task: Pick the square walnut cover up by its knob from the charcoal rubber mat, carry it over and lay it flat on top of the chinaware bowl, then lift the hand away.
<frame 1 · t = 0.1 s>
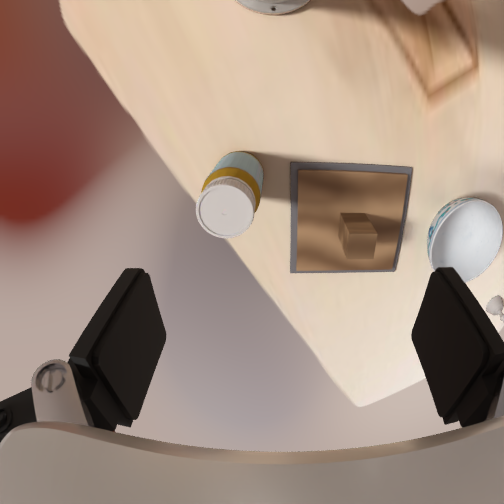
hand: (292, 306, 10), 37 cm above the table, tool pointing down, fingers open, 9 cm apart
bottle: (240, 172, 45), on the table
cover: (350, 222, 47), resting on mat
mat: (349, 221, 47), on the table
chinaware: (448, 223, 46), on the table
chalice: (493, 303, 54), on the table
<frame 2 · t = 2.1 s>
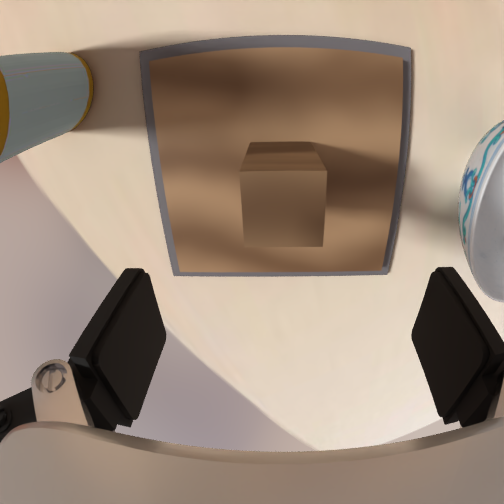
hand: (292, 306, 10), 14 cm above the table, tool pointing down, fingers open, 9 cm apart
bottle: (65, 92, 19), on the table
cover: (280, 166, 21), resting on mat
mat: (280, 165, 22), on the table
chinaware: (490, 178, 20), on the table
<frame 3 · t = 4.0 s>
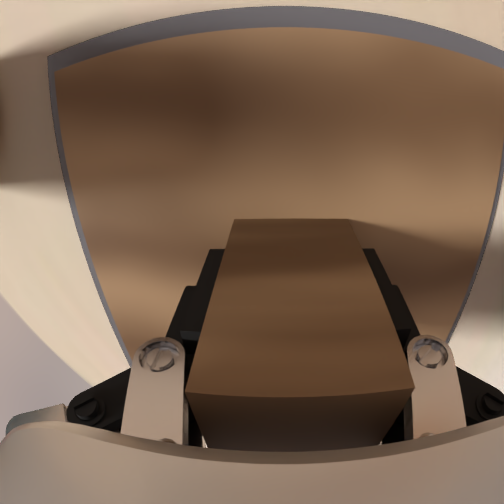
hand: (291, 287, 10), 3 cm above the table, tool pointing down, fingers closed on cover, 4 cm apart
cover: (290, 256, 12), resting on mat, touching gripper
mat: (289, 251, 13), on the table
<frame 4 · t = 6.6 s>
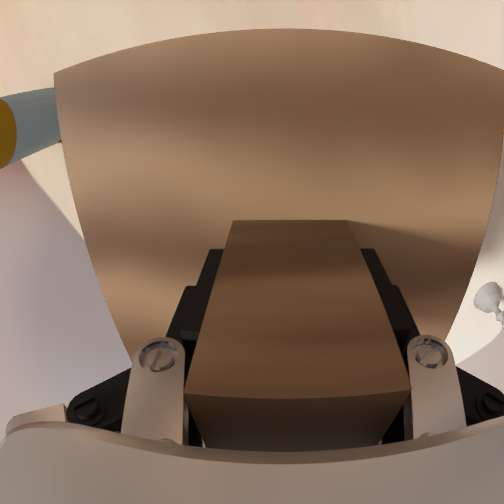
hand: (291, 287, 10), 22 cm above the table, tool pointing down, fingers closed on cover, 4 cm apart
bottle: (53, 115, 28), on the table
cover: (289, 257, 12), point 19 cm above the table, touching gripper
chalice: (485, 294, 36), on the table
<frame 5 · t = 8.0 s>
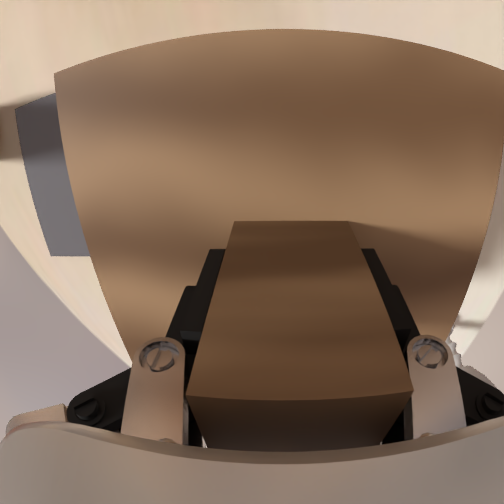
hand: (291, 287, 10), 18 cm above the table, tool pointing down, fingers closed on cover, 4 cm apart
cover: (290, 258, 12), point 16 cm above the table, touching gripper
mat: (91, 174, 28), on the table
chalice: (437, 320, 34), on the table
when the fingers open (11 cm above the table, at t = 9.4 s): cover drops 2 cm, resting on chinaware.
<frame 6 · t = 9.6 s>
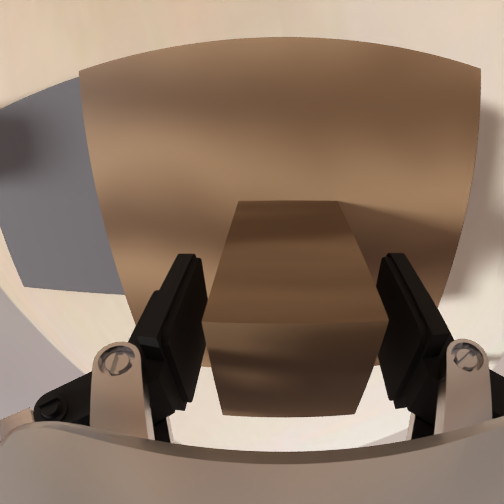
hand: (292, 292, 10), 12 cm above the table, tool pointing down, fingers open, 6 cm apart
cover: (287, 235, 14), point 8 cm above the table, touching chinaware
mat: (56, 199, 22), on the table
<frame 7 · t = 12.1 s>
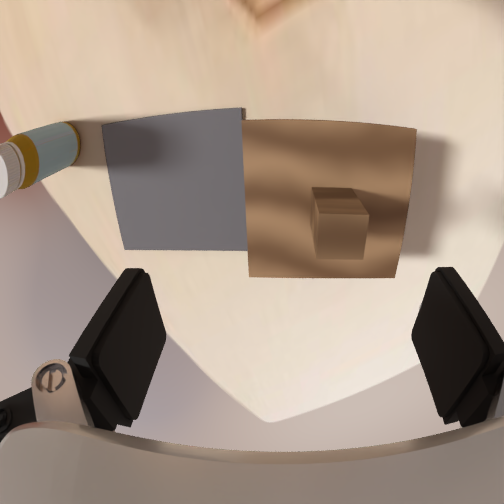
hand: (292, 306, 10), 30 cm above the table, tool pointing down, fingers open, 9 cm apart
bottle: (65, 143, 37), on the table
cover: (329, 203, 31), point 8 cm above the table, touching chinaware
mat: (173, 185, 39), on the table
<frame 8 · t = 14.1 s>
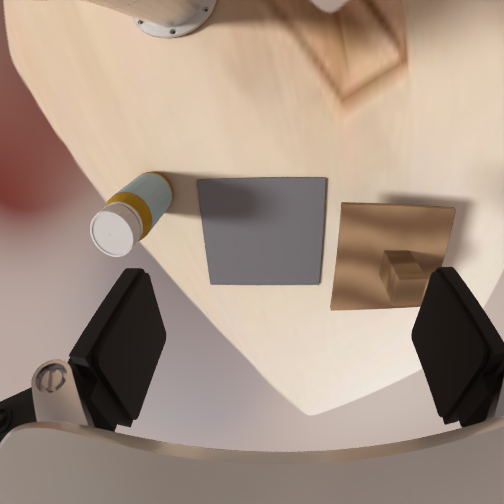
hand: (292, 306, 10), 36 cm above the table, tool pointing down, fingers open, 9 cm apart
bottle: (154, 191, 47), on the table
cover: (392, 259, 41), point 8 cm above the table, touching chinaware
mat: (262, 235, 49), on the table
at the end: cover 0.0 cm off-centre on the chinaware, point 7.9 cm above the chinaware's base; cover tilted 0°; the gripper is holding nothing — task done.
